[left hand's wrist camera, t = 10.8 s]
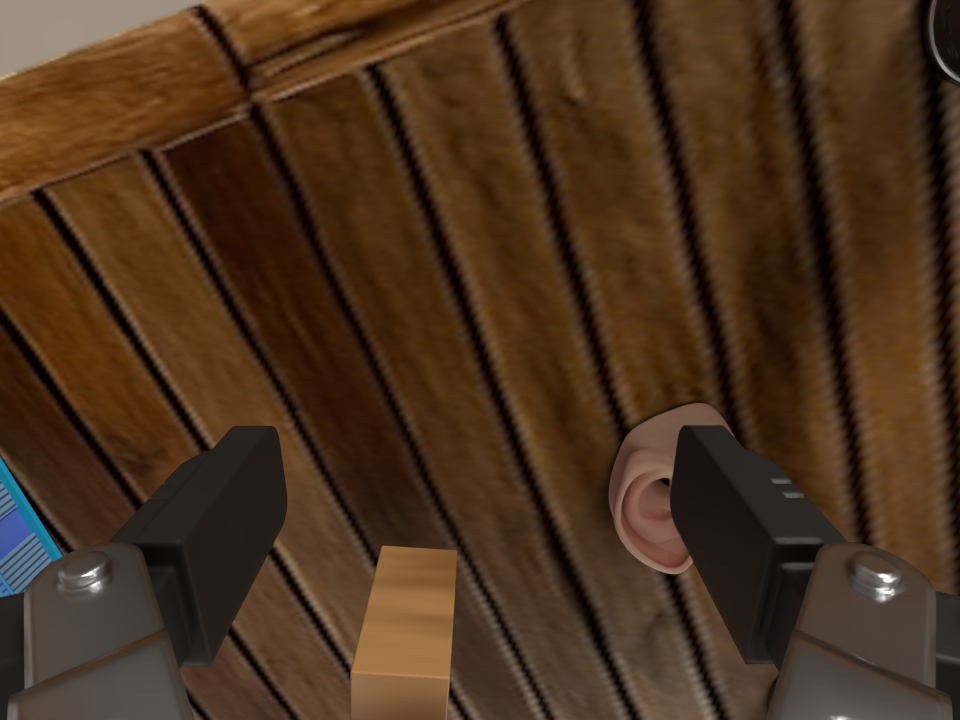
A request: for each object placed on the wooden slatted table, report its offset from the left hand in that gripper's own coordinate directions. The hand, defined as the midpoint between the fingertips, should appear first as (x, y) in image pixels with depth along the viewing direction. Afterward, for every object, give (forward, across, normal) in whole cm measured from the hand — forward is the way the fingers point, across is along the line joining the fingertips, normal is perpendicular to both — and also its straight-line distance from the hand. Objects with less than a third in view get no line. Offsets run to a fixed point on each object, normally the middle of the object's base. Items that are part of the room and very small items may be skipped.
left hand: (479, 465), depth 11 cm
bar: (+21, -5, -31) cm, 37 cm away
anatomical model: (+32, +16, -20) cm, 41 cm away
